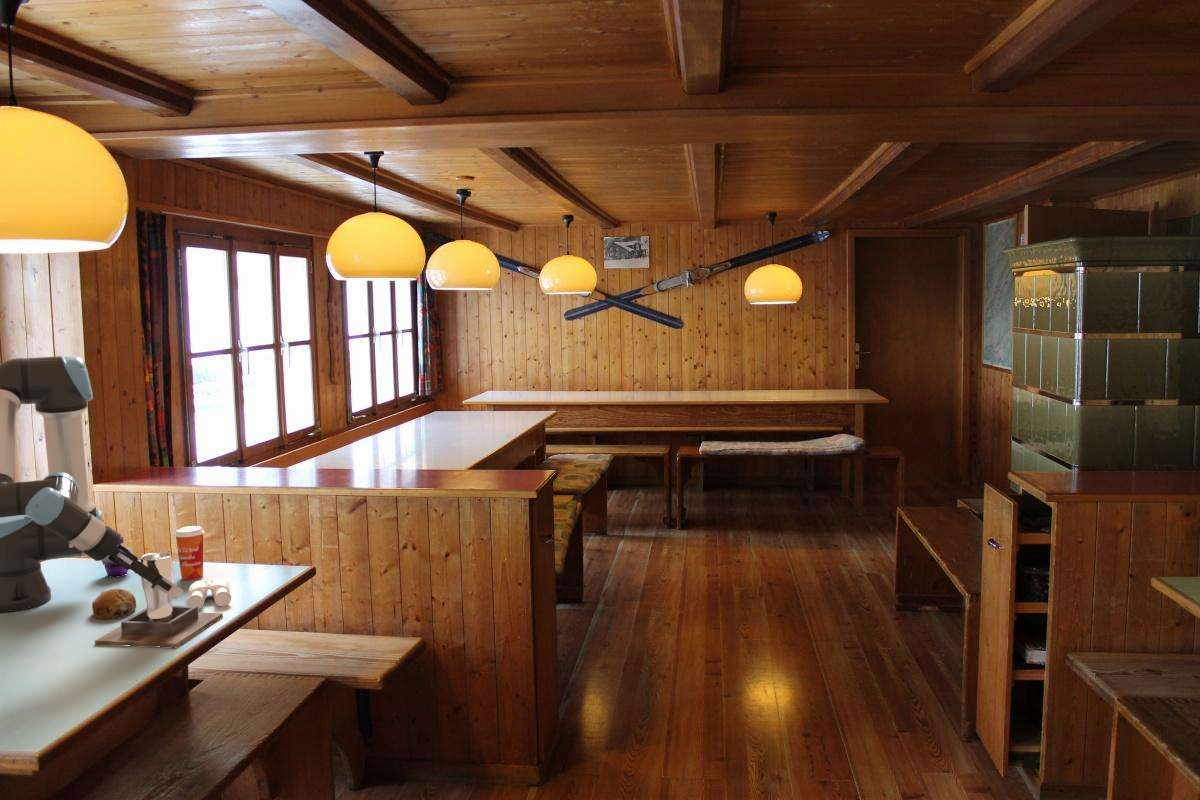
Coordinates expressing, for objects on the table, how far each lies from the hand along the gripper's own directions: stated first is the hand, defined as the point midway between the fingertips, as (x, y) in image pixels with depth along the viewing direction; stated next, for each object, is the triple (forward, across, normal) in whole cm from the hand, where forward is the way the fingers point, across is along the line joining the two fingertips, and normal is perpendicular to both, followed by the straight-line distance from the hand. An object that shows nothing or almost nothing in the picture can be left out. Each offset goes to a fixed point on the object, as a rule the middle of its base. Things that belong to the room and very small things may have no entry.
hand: (174, 591), depth 222 cm
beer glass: (+2, 0, -6) cm, 7 cm away
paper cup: (+18, -38, +6) cm, 43 cm away
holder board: (+4, 0, -9) cm, 10 cm away
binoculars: (+16, -16, +3) cm, 23 cm away
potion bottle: (+8, -56, -5) cm, 57 cm away
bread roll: (+1, -22, -12) cm, 25 cm away
